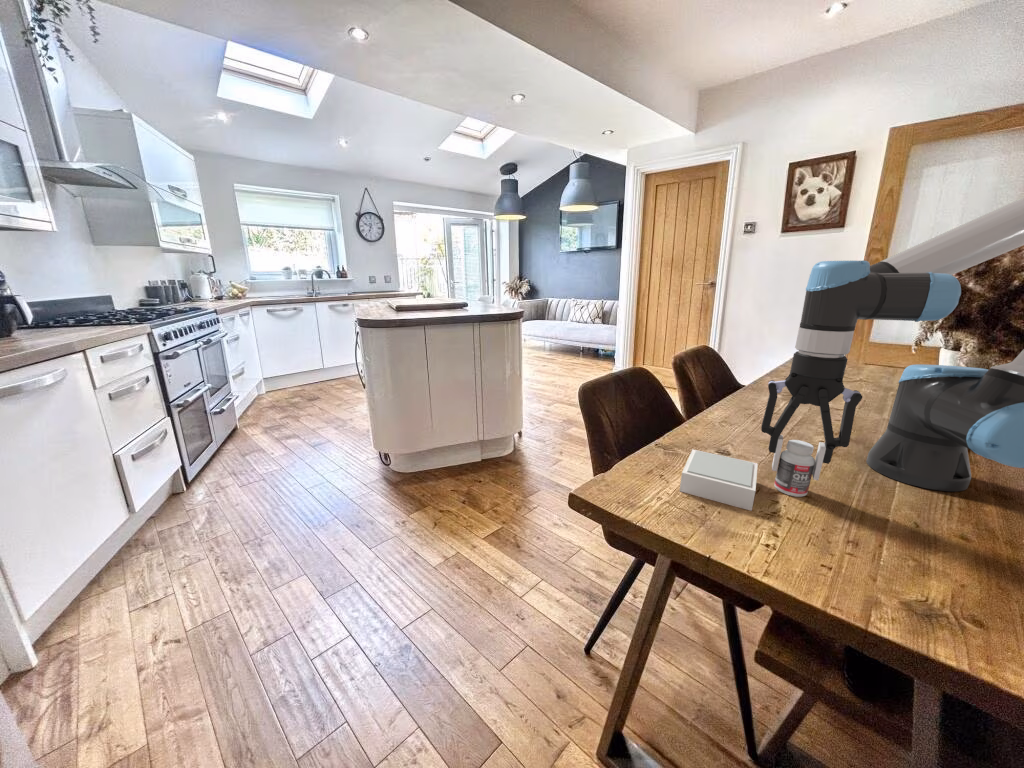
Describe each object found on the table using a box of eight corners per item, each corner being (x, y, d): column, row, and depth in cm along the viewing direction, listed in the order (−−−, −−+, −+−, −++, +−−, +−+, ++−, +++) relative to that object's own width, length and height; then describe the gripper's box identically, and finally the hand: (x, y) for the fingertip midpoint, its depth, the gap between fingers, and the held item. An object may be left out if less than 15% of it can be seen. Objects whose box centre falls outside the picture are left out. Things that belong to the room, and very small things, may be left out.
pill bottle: (793, 499, 72) (803, 451, 70) (767, 485, 77) (776, 439, 75) (814, 495, 74) (825, 447, 71) (787, 481, 79) (797, 436, 76)
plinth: (754, 481, 79) (758, 462, 78) (751, 510, 69) (755, 489, 68) (690, 466, 85) (692, 447, 84) (679, 491, 75) (682, 471, 74)
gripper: (887, 355, 66) (854, 477, 73) (758, 344, 76) (739, 453, 82) (898, 363, 60) (861, 496, 67) (757, 351, 70) (737, 467, 76)
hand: (794, 472), depth 75 cm, fingers open, 6 cm apart
